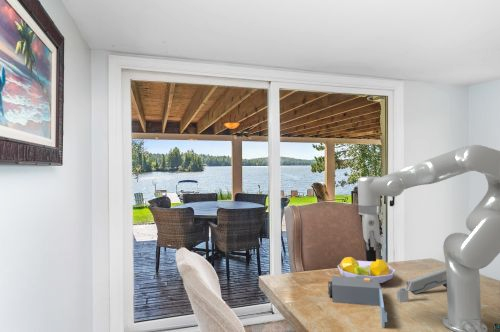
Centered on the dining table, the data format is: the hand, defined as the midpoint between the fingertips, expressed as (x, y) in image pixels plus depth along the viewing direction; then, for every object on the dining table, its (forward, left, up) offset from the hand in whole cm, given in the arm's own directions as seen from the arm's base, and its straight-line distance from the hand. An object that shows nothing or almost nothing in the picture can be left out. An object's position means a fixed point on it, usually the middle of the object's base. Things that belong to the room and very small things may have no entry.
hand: (371, 260), depth 114 cm
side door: (+3, -4, -21) cm, 21 cm away
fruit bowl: (+44, -1, -21) cm, 49 cm away
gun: (+33, -29, -22) cm, 49 cm away
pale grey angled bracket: (+21, -15, -21) cm, 33 cm away
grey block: (+19, +5, -21) cm, 29 cm away
